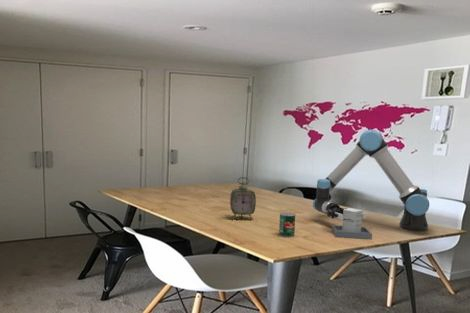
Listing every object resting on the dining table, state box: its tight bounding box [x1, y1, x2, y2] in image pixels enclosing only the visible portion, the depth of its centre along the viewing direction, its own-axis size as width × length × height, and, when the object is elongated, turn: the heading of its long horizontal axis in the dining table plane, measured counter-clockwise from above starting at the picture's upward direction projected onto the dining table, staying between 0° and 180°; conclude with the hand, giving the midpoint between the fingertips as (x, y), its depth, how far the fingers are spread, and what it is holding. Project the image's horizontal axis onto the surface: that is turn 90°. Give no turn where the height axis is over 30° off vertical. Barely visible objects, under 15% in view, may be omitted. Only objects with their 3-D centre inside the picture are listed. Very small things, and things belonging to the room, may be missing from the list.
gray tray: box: [331, 224, 373, 240], centre depth 216 cm, size 18×14×3 cm
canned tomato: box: [278, 212, 296, 238], centre depth 209 cm, size 8×8×11 cm
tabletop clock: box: [229, 176, 257, 221], centre depth 244 cm, size 14×9×25 cm, turn 95°
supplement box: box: [341, 207, 363, 233], centre depth 216 cm, size 7×7×13 cm
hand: (353, 216), depth 214 cm, fingers open, 13 cm apart
